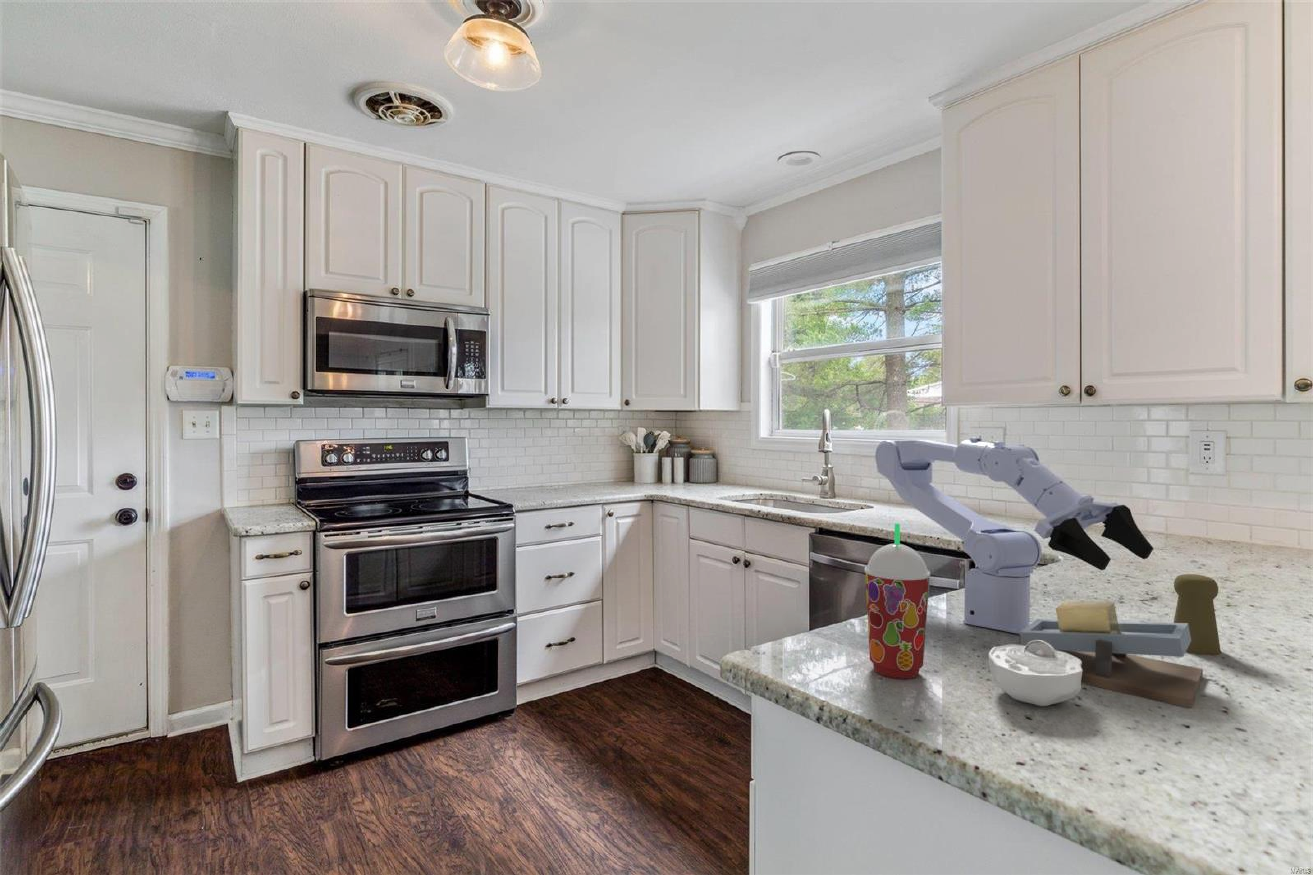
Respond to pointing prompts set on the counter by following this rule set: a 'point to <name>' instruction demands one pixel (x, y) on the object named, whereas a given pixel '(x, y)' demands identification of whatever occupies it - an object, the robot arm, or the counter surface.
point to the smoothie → (897, 609)
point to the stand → (1139, 675)
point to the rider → (1087, 617)
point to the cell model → (1036, 672)
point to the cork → (1198, 612)
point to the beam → (1115, 638)
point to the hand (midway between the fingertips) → (1127, 559)
